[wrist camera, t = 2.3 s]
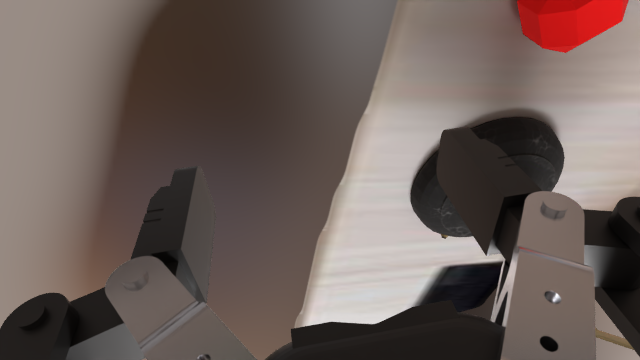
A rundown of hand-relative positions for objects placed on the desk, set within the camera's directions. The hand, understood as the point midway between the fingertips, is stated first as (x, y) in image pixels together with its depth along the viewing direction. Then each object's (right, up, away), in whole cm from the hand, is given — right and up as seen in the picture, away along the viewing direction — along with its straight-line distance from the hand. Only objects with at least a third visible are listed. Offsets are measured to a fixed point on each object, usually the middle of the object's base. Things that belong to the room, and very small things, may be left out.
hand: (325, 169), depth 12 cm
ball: (+23, +19, +26) cm, 40 cm away
